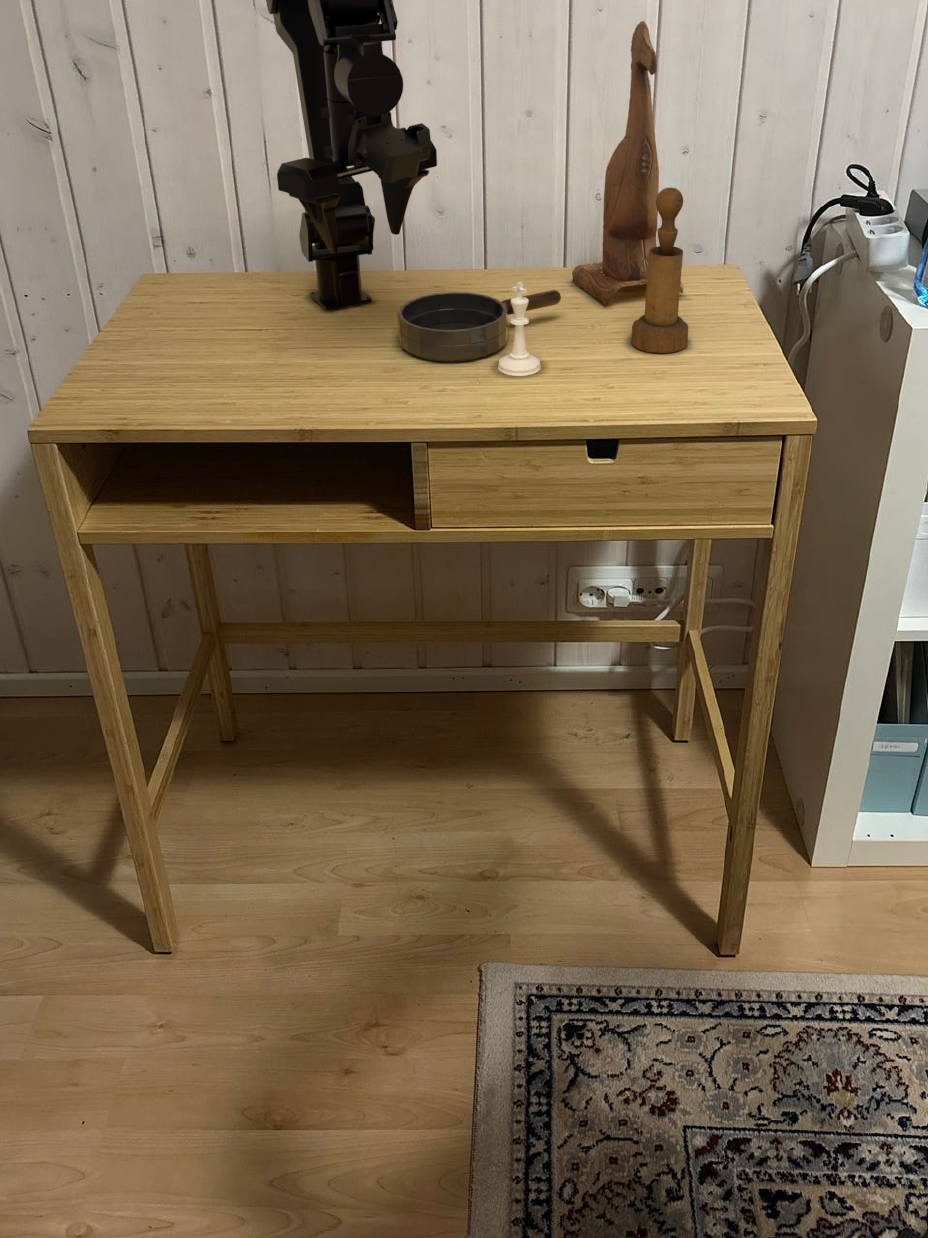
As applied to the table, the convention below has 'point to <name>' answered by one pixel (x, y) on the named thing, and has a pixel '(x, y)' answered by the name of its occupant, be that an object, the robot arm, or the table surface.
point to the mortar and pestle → (663, 285)
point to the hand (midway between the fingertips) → (364, 243)
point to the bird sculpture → (629, 188)
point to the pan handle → (534, 301)
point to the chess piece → (519, 341)
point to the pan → (452, 326)
